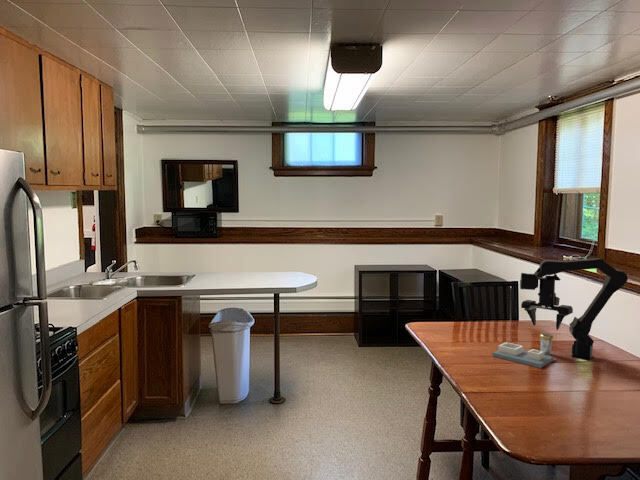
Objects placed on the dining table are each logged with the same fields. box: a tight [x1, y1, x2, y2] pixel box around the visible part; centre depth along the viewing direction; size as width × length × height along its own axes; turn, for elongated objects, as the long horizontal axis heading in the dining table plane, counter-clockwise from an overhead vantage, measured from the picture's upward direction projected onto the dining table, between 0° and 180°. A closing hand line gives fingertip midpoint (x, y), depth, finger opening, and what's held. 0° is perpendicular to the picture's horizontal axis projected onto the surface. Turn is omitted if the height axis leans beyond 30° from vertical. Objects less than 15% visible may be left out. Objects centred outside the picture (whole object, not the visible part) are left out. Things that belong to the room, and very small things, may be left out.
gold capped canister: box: [539, 332, 554, 356], centre depth 197 cm, size 5×5×8 cm
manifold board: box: [492, 341, 554, 369], centre depth 191 cm, size 19×13×4 cm
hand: (545, 327), depth 197 cm, fingers open, 9 cm apart
